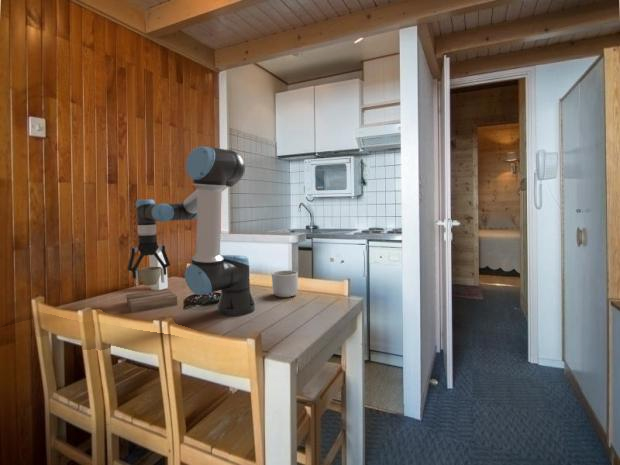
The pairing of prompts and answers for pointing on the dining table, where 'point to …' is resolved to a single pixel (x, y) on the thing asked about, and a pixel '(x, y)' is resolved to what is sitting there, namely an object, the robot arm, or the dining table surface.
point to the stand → (151, 300)
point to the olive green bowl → (149, 275)
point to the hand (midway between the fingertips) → (150, 283)
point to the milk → (155, 263)
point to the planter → (285, 283)
